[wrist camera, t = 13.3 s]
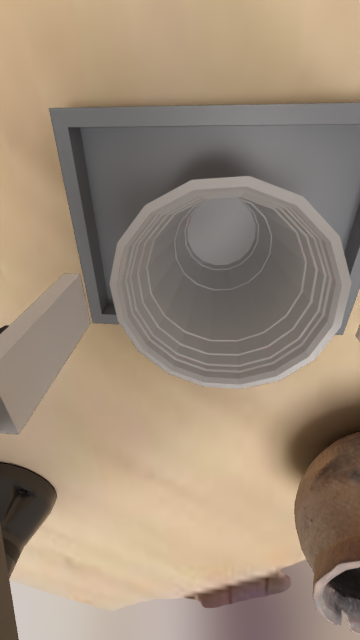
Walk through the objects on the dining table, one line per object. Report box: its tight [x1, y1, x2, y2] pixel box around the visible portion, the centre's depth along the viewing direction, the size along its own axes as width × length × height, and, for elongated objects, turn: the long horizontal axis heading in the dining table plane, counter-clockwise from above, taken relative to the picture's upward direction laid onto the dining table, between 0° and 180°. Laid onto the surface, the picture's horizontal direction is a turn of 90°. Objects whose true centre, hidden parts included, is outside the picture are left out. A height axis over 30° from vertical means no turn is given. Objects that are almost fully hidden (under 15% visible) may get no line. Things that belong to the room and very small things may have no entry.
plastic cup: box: [109, 176, 352, 389], centre depth 18 cm, size 11×11×12 cm
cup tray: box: [49, 103, 360, 335], centre depth 23 cm, size 22×16×3 cm
